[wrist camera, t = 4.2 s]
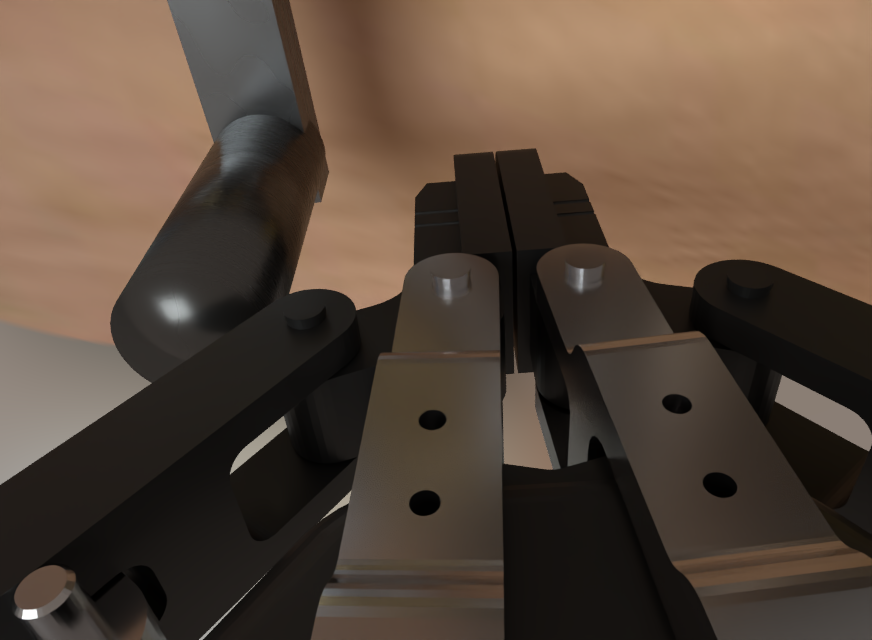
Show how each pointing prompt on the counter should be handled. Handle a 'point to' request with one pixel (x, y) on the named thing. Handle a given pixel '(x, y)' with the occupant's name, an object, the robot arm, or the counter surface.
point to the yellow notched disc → (229, 188)
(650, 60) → the counter surface
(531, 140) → the counter surface
